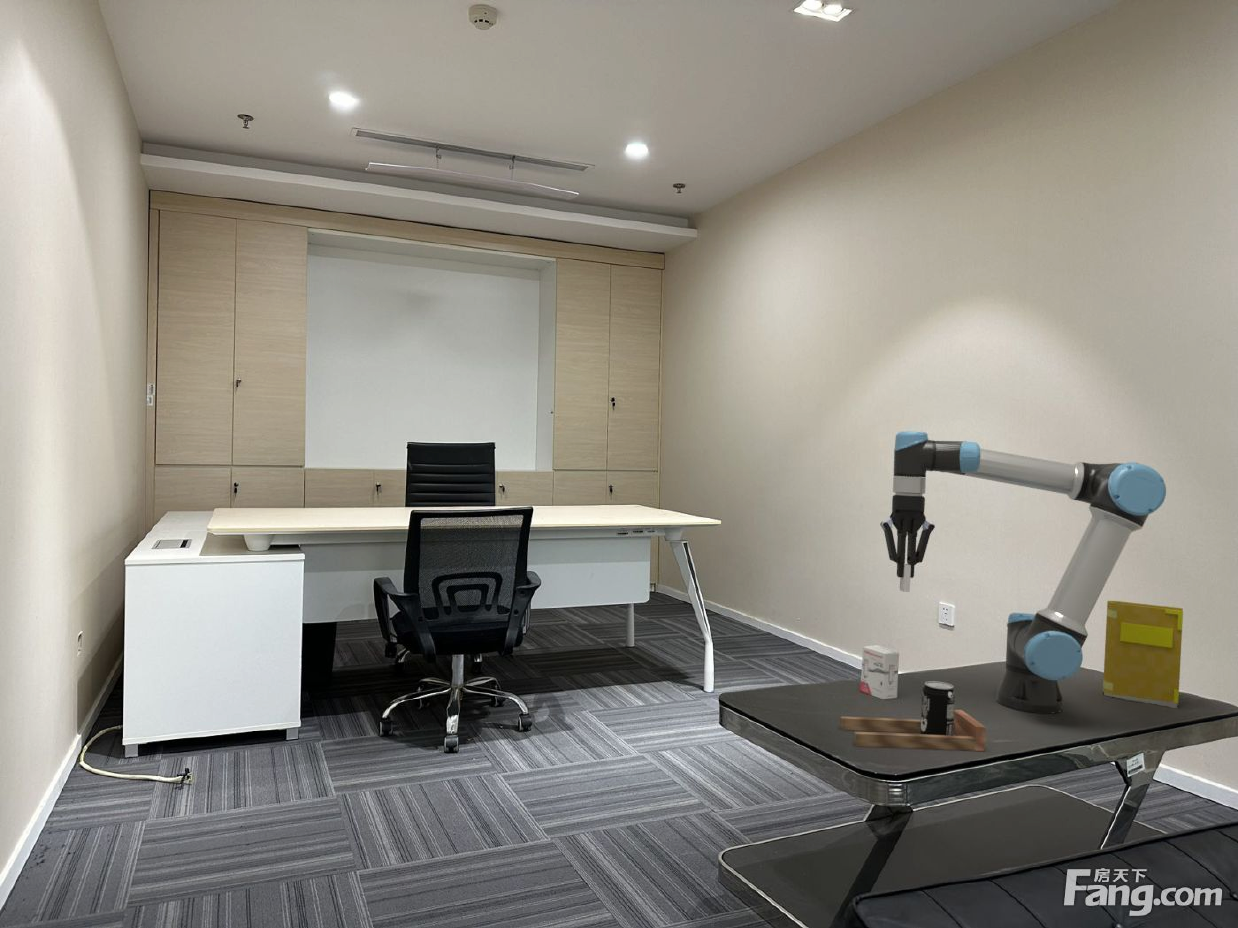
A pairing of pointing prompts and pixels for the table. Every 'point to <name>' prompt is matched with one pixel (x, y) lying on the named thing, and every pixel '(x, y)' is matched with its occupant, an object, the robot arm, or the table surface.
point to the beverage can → (937, 709)
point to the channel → (965, 729)
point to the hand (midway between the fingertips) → (904, 590)
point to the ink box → (880, 672)
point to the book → (1143, 651)
